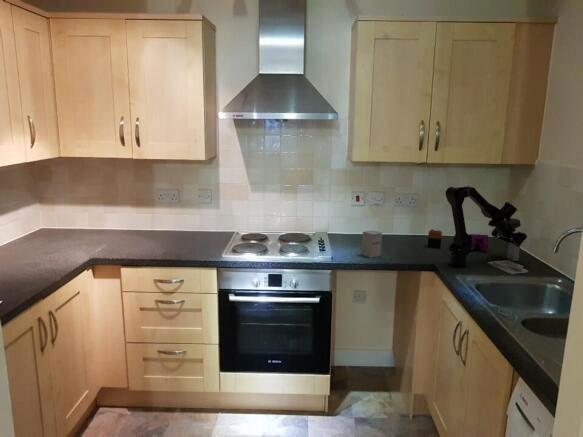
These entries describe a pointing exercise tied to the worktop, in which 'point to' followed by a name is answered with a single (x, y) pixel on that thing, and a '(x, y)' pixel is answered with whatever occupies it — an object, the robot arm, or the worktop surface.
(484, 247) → the mounting bracket
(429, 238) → the battery
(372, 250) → the pinkish brown cylinder
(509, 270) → the grey tray
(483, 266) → the worktop surface
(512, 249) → the grey rectangular block
